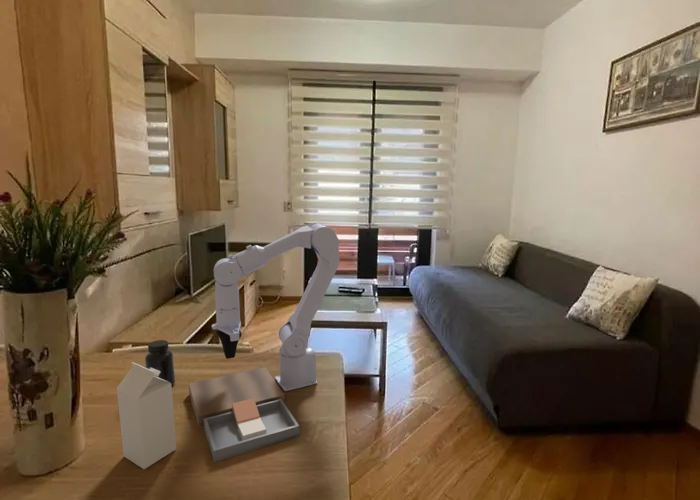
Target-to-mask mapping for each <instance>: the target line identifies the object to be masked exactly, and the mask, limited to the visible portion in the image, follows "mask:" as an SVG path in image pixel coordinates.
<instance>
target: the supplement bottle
mask: <svg viewBox="0 0 700 500" xmlns="http://www.w3.org/2000/svg"><path fill="white" fill-rule="evenodd" d="M169 347H170V346H169V342H168V340H166V339H158V340H154V341H150V342H149V343H148V345H147V352H148V353H147V354H146V355H145V357H144V364H145V368H147V369H150V368H153V369H156V370H158V371H160V374H159V376H158V377H159V378H161V379H163V380H165V381H167V382H170V383H171V387H174V385H175V383H176V375H175V374H176V373H175V361H174V359H175V358H174V353H173V351H171V350H170V348H169Z"/></svg>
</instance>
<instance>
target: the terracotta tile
mask: <svg viewBox="0 0 700 500" xmlns="http://www.w3.org/2000/svg"><path fill="white" fill-rule="evenodd" d="M232 410H233V413H234V417H235V421H236V425H237V423H239V422H243V421H247V420H251V419H254V418H258V417H260V415H259V412H258V409H257V406H256V403H255V400H254V398H252V399H248V400H244V401H240V402H236V403H232Z"/></svg>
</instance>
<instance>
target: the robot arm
mask: <svg viewBox="0 0 700 500" xmlns="http://www.w3.org/2000/svg"><path fill="white" fill-rule="evenodd" d="M339 244H340V240H339V237H338V236H337V233H336V232H335V230H334V229H333V228H331V227H329V226H327V225H326V224H324V223H321V222H317V221H316V222H313V223H310V224H309V225H304V226H302V227H300V228H298V229H296V230H294V231H292V232H290V233H288V234H286V235H284V236H281V237H280V238H279V239H276V240H274V241H273V242H270V243H268V244H266V245H264V246H260V245H257V244H255V245H253V246H252V245H251V244H249V245H247V246H246V247H245V248H246V249H244V250H242V251H240V252H238V253H236V254H232V253H231V254H228V256H227V257H228V258H226V257H225V258H221V259H219V260H217V262H216V263H215V264H214V266H213V269H212V270H213V278H214V279H215V283H214V287H215V289H214V298H215V317H216V322H215V323H213V324H211V328H212V330H216V334H217V336H218V338H219V339H220V342H221V345H222V350H223V354H224V357H225V359H226V360H228V359H234V358H235V357H236V352H237V348H238V344H239V341H240V339H241V337H242V334H243V333H242V331H241V326H242V322H241V314H240V313H241V311H240V310H241V309H240V289H239V287H238V286H239V285H238V280H239V278H240V277H245V276H246V275H248V274H251V273H253V272H256V271H257V270H259V269H261V268H263V267H266V266H267V264H268V261H269V260H270V259H272V258H274V257H276V256H278V255H281V254H283V253H286V252H288V251H290V250H292V249H295V248H299V247H300V248H305V249H312V248H313V250H314V252H315V254H316V257H317V259H318V262H317V265H316V267H315V270H314V271H313V273H312V275H311V278H310V280H309V282H308V283H307V286H306V288H305V290H304V292H303V295H302V297H301V298H300V301H299V302H298V305H297V307H296V309H295V310H294V313H293V314H292V315H290V316H289V318H288V319H287V321H286V322H285V323H284V324H282V325H281V327H280V328H279V331H278V337H279V340H280V341H281V343H282V344H281V347H280V348H279V350H278V351H279V375H277V376H274V378H275V379H274V380H275V381H276V383H277V384H278V386H279V387H280V389H281V388H282V389H281V390H283V391H284V392H288V391H292V390H296V389H300V388H304V387H308V386H312V385H317V384H318V381H317V357H316V354H315V351H314V349H313V347H309V346H308V345H309V344H308V343H309V341H308V339H309V337H310V334H311V327H312V326H311V325H312V322H313V319H314V318H315V315H316V313H317V311H318V310H319V307H320V305H321V303H322V301H323V299H324V297H325V296H326V293H327V291H328V289H329V286H330V285H331V282H332V280H333V279H334V276H335V274H336V273H337V270H338V268H339V266H340V263H341V262H340V249H339V248H340V247H339V246H340V245H339Z"/></svg>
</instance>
